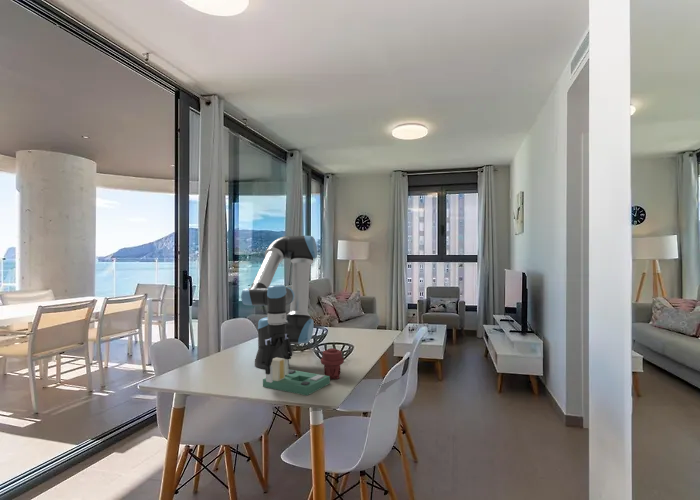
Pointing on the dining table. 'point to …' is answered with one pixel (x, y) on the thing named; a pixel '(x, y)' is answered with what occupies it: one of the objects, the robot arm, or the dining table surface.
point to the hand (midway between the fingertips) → (277, 378)
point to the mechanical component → (332, 362)
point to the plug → (278, 368)
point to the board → (299, 382)
